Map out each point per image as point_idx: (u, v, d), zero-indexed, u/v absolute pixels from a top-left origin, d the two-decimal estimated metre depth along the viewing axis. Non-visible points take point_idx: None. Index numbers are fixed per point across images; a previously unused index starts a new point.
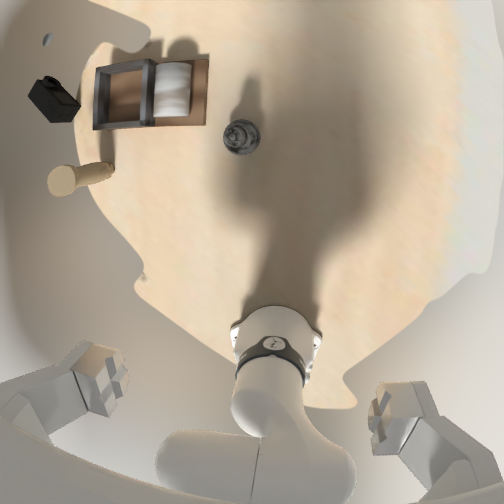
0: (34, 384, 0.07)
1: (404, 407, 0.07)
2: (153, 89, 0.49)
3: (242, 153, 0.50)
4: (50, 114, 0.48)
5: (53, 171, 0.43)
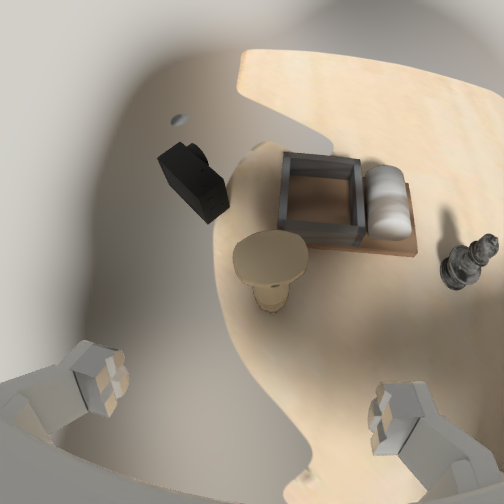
0: (34, 384, 0.07)
1: (404, 407, 0.07)
2: None
3: (469, 282, 0.36)
4: (200, 188, 0.41)
5: (254, 236, 0.28)
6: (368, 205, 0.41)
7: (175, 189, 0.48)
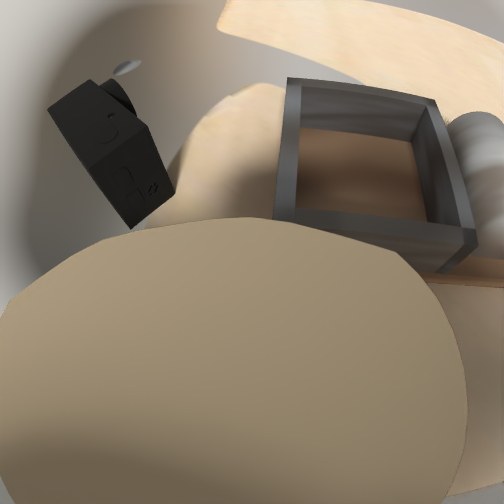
0: None
1: None
2: None
3: None
4: (97, 147, 0.16)
5: (90, 265, 0.04)
6: None
7: None
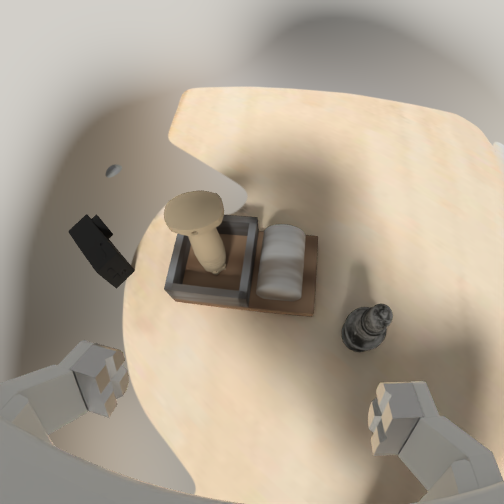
0: (34, 384, 0.07)
1: (404, 407, 0.07)
2: (253, 259, 0.46)
3: (367, 347, 0.38)
4: (98, 261, 0.43)
5: (182, 195, 0.34)
6: (259, 266, 0.44)
7: None
